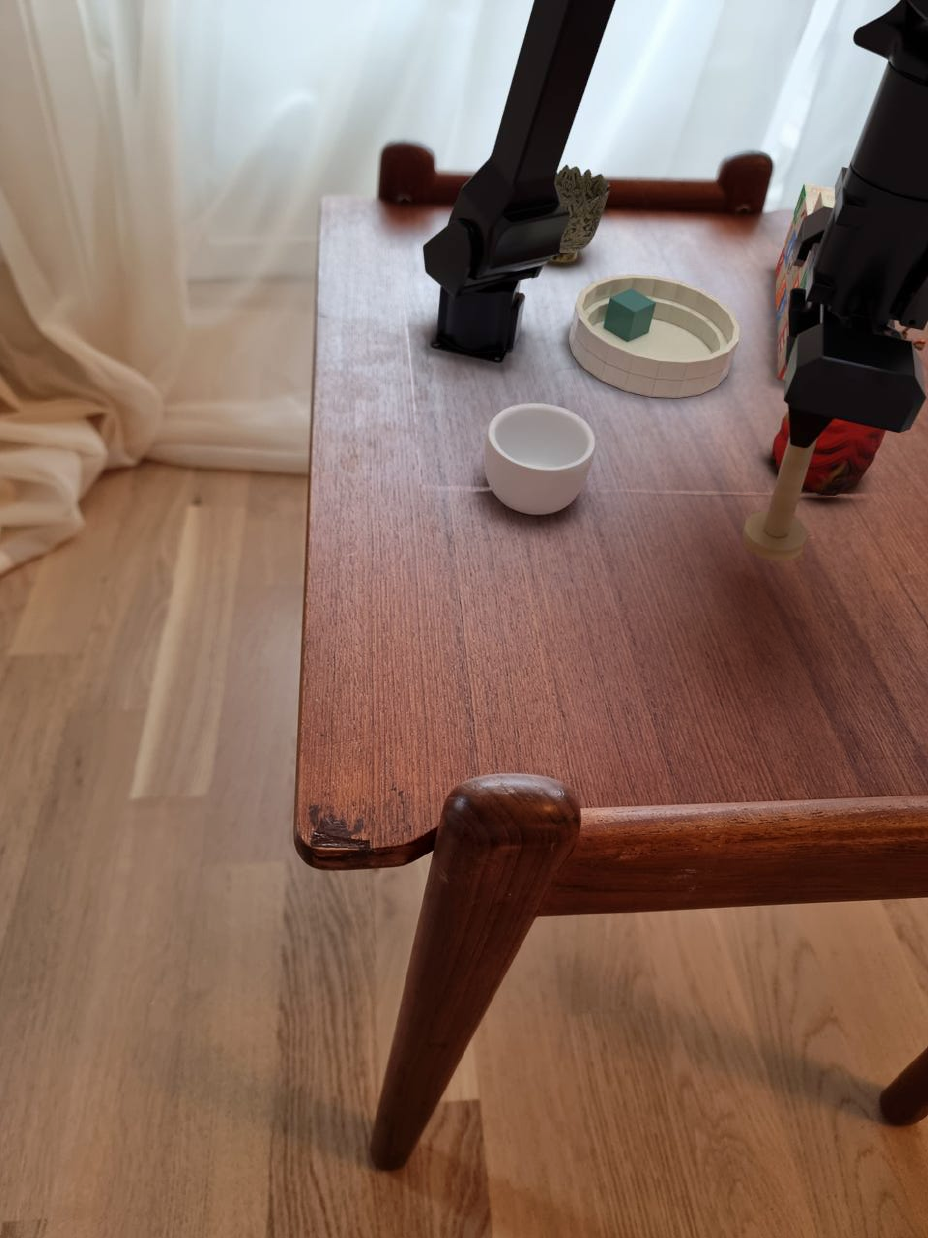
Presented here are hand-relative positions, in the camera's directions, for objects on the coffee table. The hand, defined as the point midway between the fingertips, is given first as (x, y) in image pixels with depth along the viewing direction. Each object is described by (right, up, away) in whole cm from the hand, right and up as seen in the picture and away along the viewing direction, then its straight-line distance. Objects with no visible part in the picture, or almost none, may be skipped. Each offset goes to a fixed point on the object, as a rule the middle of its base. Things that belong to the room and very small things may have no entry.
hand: (799, 436), depth 59 cm
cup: (-11, +25, +39) cm, 47 cm away
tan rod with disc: (0, -6, +6) cm, 8 cm away
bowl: (-4, +12, +28) cm, 31 cm away
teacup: (-15, -1, +14) cm, 21 cm away
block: (-6, +15, +30) cm, 34 cm away
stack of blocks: (+12, +16, +34) cm, 40 cm away
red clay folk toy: (+7, 0, +19) cm, 20 cm away
